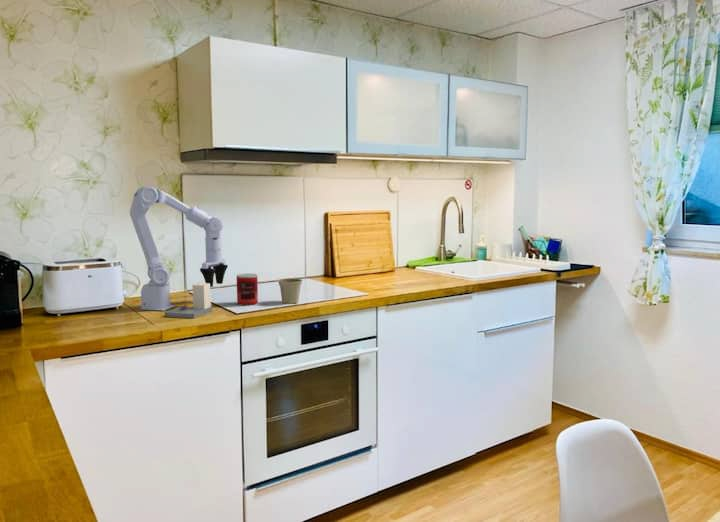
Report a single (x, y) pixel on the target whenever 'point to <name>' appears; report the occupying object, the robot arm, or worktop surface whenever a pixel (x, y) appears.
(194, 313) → the tray
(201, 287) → the cream block
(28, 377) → the worktop surface
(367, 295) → the worktop surface
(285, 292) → the flower pot
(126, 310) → the worktop surface
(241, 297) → the canned food
